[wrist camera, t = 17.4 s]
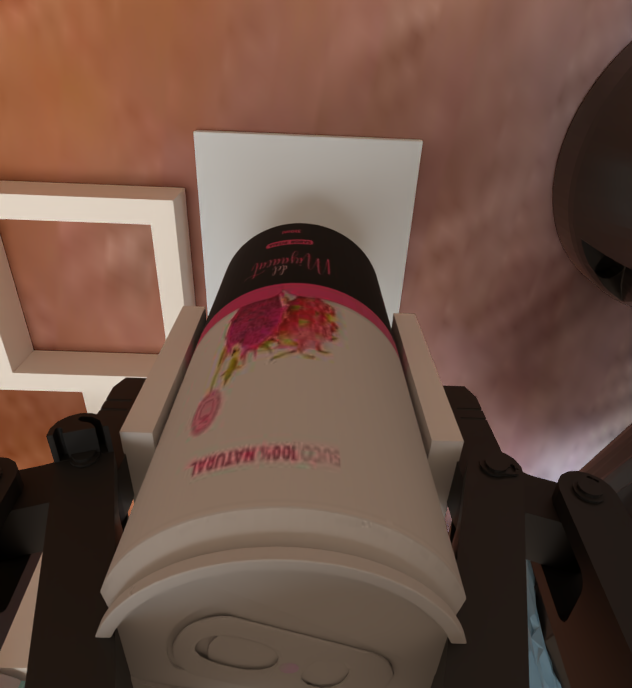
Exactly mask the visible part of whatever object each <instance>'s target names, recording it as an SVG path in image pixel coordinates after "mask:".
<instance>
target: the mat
mask: <svg viewBox="0 0 632 688" xmlns="http://www.w3.org/2000/svg"><path fill="white" fill-rule="evenodd" d="M193 133H194V145H195V158H196V171H197V183H198V196H199V208H200V221H201V234H202V246H203V259H204V271H205V284H206V297H207V309H208V316H209V313H210V310H211V308H212V305H213V303H214V300H215V298H216V295H217V293H218V290H219V288H220V285H221V283H222V280H223V277H224V275H225V272H226V270H227V268H228V265H229V263H230V262H231V260H232V258H233V257H234V255H235V254H236V253H237V251H238V250H239V249H240V248H241V247H242V246H243V245H244V244H245V243H246V242H247V241H248V240H250V239H251V238H253V237H254V236H256V235H257V234H259V233H261V232H263V231H265V230H267V229H270V228H273V227H276V226H280V225H284V224H291V223H308V224H315V225H320V226H324V227H327V228H330V229H332V230H335V231H337V232H339V233H341V234H343V235H344V236H346V237H347V238H349V239H350V240H352V241H353V242H354V243H355V244H356V245H357V246H358V247H359V248H360V249H361V250H362V251H363V252H364V253H365V255H366V256H367V257H368V259H369V260H370V262H371V264H372V266H373V268H374V270H375V273H376V275H377V279H378V283H379V286H380V290H381V293H382V297H383V301H384V304H385V308H386V311H387V315H388V319H389V322H390V326H391V328H392V321H393V313H399V308H400V301H401V294H402V287H403V280H404V272H405V265H406V258H407V251H408V244H409V237H410V230H411V223H412V215H413V208H414V201H415V194H416V187H417V180H418V173H419V165H420V158H421V151H422V144H423V141H422V140H421V139H397V138H374V137H351V136H327V135H304V134H280V133H257V132H234V131H210V130H195V131H194V132H193Z"/></svg>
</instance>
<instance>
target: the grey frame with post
mask: <svg viewBox="0 0 632 688" xmlns="http://www.w3.org/2000/svg"><path fill="white" fill-rule="evenodd" d="M0 219H20V220H46V221H72V222H98V223H124V224H150V225H151V230H152V238H153V246H154V253H155V261H156V268H157V276H158V284H159V291H160V299H161V306H162V314H163V322H164V329H165V337H166V339H167V337H168V335H169V333H170V331H171V329H172V327H173V325H174V323H175V321H176V319H177V317H178V315H179V313H180V311H181V309H182V307H183V306H196V303H195V292H194V281H193V270H192V259H191V248H190V238H189V227H188V216H187V205H186V194H185V188H176V187H151V186H126V185H101V184H76V183H51V182H26V181H1V180H0ZM158 355H159V354H135V353H104V352H74V351H43V350H34V349H33V346H32V342H31V339H30V335H29V332H28V328H27V325H26V322H25V318H24V315H23V311H22V308H21V304H20V301H19V298H18V294H17V291H16V287H15V284H14V280H13V277H12V274H11V270H10V267H9V263H8V260H7V256H6V253H5V250H4V246H3V243H2V239H1V236H0V389H1V390H34V391H67V392H82V393H83V397H84V401H85V405H86V409H87V413H93V414H97V413H98V412H99V410H101V407H102V405H103V403H104V402H105V401H106V398H107V397H108V395H109V393H110V391H111V390H112V388H113V387H114V386H115V385H117V384H118V383H119V382H120V381H122V380H123V379H124V378H126V377H131V378H147V376H148V374H149V372H150V370H151V368H152V366H153V364H154V362H155V360H156V358H157V356H158ZM42 553H43V552H42ZM41 561H42V555H41V557H40V559H39V562H38V564H37V566H36V569H35V571H34V573H33V576H32V578H31V580H30V583H29V585H28V587H27V590H26V592H25V594H24V597H23V599H22V601H21V604H20V606H19V609H18V611H17V613H16V616H15V618H14V620H13V623H12V625H11V627H10V630H9V632H8V634H7V637H6V639H5V641H4V644H3V646H2V648H1V651H0V674H4V675H8V676H11V677H14V678H17V679H19V680H21V681H25V680H26V673H27V665H28V658H29V650H30V643H31V635H32V628H33V620H34V613H35V605H36V598H37V591H38V583H39V576H40V568H41Z"/></svg>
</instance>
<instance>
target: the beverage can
mask: <svg viewBox="0 0 632 688" xmlns="http://www.w3.org/2000/svg"><path fill="white" fill-rule="evenodd" d="M101 594H102V596H103V598H104V600H105V602H106V604H107V606H108V610H107V611H106V613H105V614H104V616H103V618H102V620H101V622H100V625H99V627H98V630H97V633H96V636H95V637H99V638H110V637H111V636H112V635H113V633H114V631H115V629H116V628H117V629H118V633H119V636H120V639H121V643H122V646H123V650H124V653H125V657H126V660H127V664H128V667H129V671H130V674H131V681H132V685H133V688H431V685H432V682H433V679H434V675H435V674H436V671H437V668H438V665H439V662H440V659H441V656H442V652H443V649H444V646H445V643H446V640H447V637H448V638H449V640H450V642H451V643H456V644H466V643H467V642H466V638H465V634H464V631H463V628H462V626H461V624H460V622H459V620H458V618H457V617H456V614H457V613H458V611H459V610H460V608H461V606H462V605H463V603H464V602H465V600H466V595H465V592H464V588H463V585H462V581H461V577H460V574H459V570H458V567H457V563H456V559H455V556H454V552H453V549H452V545H451V541H450V538H449V534H448V531H447V527H446V524H445V520H444V516H443V513H442V509H441V506H440V502H439V498H438V495H437V491H436V488H435V484H434V480H433V477H432V473H431V470H430V466H429V462H428V459H427V455H426V452H425V448H424V444H423V441H422V437H421V434H420V430H419V426H418V423H417V419H416V416H415V412H414V408H413V405H412V401H411V398H410V394H409V390H408V387H407V383H406V380H405V376H404V372H403V369H402V365H401V362H400V358H399V354H398V351H397V347H396V344H395V340H394V336H393V333H392V329H391V326H390V322H389V319H388V315H387V311H386V308H385V304H384V301H383V297H382V293H381V290H380V286H379V283H378V279H377V275H376V273H375V270H374V268H373V266H372V264H371V262H370V260H369V259H368V257H367V256H366V255H365V253H364V252H363V251H362V250H361V249H360V248H359V247H358V246H357V245H356V244H355V243H354V242H353V241H352V240H350V239H349V238H347V237H346V236H344V235H343V234H341V233H339V232H337V231H335V230H332V229H330V228H327V227H324V226H320V225H315V224H308V223H291V224H284V225H280V226H276V227H273V228H270V229H267V230H265V231H263V232H261V233H259V234H257V235H256V236H254V237H253V238H251V239H250V240H248V241H247V242H246V243H245V244H244V245H243V246H242V247H241V248H240V249H239V250H238V251H237V253H236V254H235V255H234V257H233V258H232V260H231V262H230V263H229V265H228V268H227V270H226V272H225V275H224V277H223V280H222V283H221V285H220V288H219V290H218V293H217V295H216V298H215V300H214V303H213V305H212V308H211V310H210V313H209V316H208V318H207V321H206V323H205V326H204V328H203V331H202V333H201V336H200V338H199V341H198V344H197V346H196V349H195V351H194V354H193V356H192V359H191V361H190V364H189V366H188V369H187V371H186V374H185V377H184V379H183V382H182V384H181V387H180V389H179V392H178V394H177V397H176V399H175V402H174V405H173V407H172V410H171V412H170V415H169V417H168V420H167V422H166V425H165V427H164V430H163V432H162V435H161V438H160V440H159V443H158V445H157V448H156V450H155V453H154V455H153V458H152V460H151V463H150V466H149V468H148V471H147V473H146V476H145V478H144V481H143V483H142V486H141V488H140V491H139V493H138V496H137V499H136V501H135V504H134V506H133V509H132V511H131V514H130V516H129V519H128V521H127V524H126V526H125V529H124V532H123V534H122V537H121V539H120V542H119V544H118V547H117V549H116V552H115V554H114V557H113V560H112V562H111V565H110V567H109V570H108V572H107V575H106V577H105V580H104V582H103V585H102V588H101Z"/></svg>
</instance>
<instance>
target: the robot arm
mask: <svg viewBox="0 0 632 688" xmlns="http://www.w3.org/2000/svg"><path fill="white" fill-rule="evenodd" d="M553 211H554V219H555V224H556V229H557V232H558V235H559V238H560V241H561V243H562V246H563V248H564V250H565V252H566V253H567V255H568V257H569V258H570V260H571V261H572V263H573V264H574V265H575V266H576V267H577V269H578V270H579V271H580V272H581V273H582V274H583V275H584V276H586V277H587V278H588V279H589V280H590V281H592V282H593V283H594V284H595V285H596V286H598V287H599V288H600V289H601V290H602V291H604V292H605V293H606V294H608V295H609V296H611V297H612V298H614V299H616V300H617V301H619V302H621V303H623V304H625V305H627V306H630V307H632V43H630V44H629V45H628V46H627V47H626V48H625V49H624V50H623V51H622V52H621V53H620V54H619V55H618V56H617V57H616V59H615V60H614V61H613V62H612V63H611V64H610V65H609V67H608V68H607V69H606V70H605V71H604V72H603V74H602V75H601V76H600V78H599V79H598V80H597V82H596V83H595V84H594V86H593V87H592V89H591V90H590V92H589V93H588V95H587V96H586V98H585V99H584V101H583V103H582V104H581V106H580V108H579V110H578V111H577V113H576V115H575V117H574V119H573V121H572V123H571V126H570V128H569V130H568V132H567V135H566V137H565V140H564V143H563V145H562V148H561V152H560V155H559V159H558V163H557V167H556V172H555V178H554V187H553ZM205 323H206V312H205V307H200V306H183V307H182V309H181V311H180V313H179V315H178V317H177V319H176V321H175V323H174V325H173V327H172V329H171V331H170V333H169V335H168V337H167V339H166V341H165V343H164V345H163V347H162V349H161V351H160V353H159V355H158V356H157V358H156V360H155V362H154V364H153V366H152V368H151V370H150V372H149V374H148V376H147V378H131V377H126V378H124V379H123V380H122V381H120V382H119V383H118V384H117V385H115V386H114V387H113V388H112V390H111V391H110V393H109V395H108V397H107V398H106V401H105V402H104V403H103V405H102V407H101V410H99V412H98V413H97V414H93V413H79V414H76V415H72V416H68V417H66V418H64V419H62V420H60V421H58V422H57V423H56V424H55V425H54V426H52V427H51V428H50V430H49V432H48V434H47V440H48V443H49V446H50V449H51V453H52V456H53V459H54V462H53V463H50V464H47V465H43V466H38V467H33V468H28V469H23V470H18V468H17V465H16V463H15V462H14V461H12V460H11V459H9V458H2V457H0V651H1V648H2V646H3V644H4V641H5V639H6V637H7V634H8V632H9V630H10V627H11V625H12V623H13V620H14V618H15V616H16V613H17V611H18V609H19V606H20V604H21V601H22V599H23V597H24V594H25V592H26V590H27V587H28V585H29V583H30V580H31V578H32V576H33V573H34V571H35V569H36V566H37V564H38V562H39V559H40V557H41V555H42V561H41V568H40V576H39V583H38V591H37V598H36V605H35V613H34V620H33V628H32V635H31V643H30V650H29V658H28V665H27V673H26V680H25V687H24V688H133V685H132V681H131V674H130V671H129V667H128V664H127V660H126V657H125V653H124V650H123V646H122V643H121V639H120V636H119V633H118V629H117V628H116V629H115V631H114V633H113V635H112V636H111V637H110V638H99V637H95V636H96V633H97V630H98V627H99V625H100V622H101V620H102V618H103V616H104V614H105V613H106V611H107V610H108V606H107V604H106V602H105V600H104V598H103V596H102V594H101V588H102V585H103V582H104V580H105V577H106V575H107V572H108V570H109V567H110V565H111V562H112V560H113V557H114V554H115V552H116V549H117V547H118V544H119V542H120V539H121V537H122V534H123V532H124V529H125V526H126V524H127V521H128V519H129V517H128V510H129V508H130V505H131V503H132V500H133V499H134V504H135V501H136V499H137V496H138V493H139V491H140V488H141V486H142V483H143V481H144V478H145V476H146V473H147V471H148V468H149V466H150V463H151V460H152V458H153V455H154V453H155V450H156V448H157V445H158V443H159V440H160V438H161V435H162V432H163V430H164V427H165V425H166V422H167V420H168V417H169V415H170V412H171V410H172V407H173V405H174V402H175V399H176V397H177V394H178V392H179V389H180V387H181V384H182V382H183V379H184V377H185V374H186V371H187V369H188V366H189V364H190V361H191V359H192V356H193V354H194V351H195V349H196V346H197V344H198V341H199V338H200V336H201V333H202V331H203V328H204V326H205ZM391 329H392V333H393V336H394V340H395V344H396V347H397V351H398V354H399V358H400V362H401V365H402V369H403V372H404V376H405V380H406V383H407V387H408V390H409V394H410V398H411V401H412V405H413V408H414V412H415V416H416V419H417V423H418V426H419V430H420V434H421V437H422V441H423V444H424V448H425V452H426V455H427V459H428V462H429V466H430V470H431V473H432V477H433V480H434V484H435V488H436V491H437V495H438V498H439V502H440V506H441V509H442V513H443V516H444V518H445V515H446V511H447V507H449V511H450V514H451V518H452V522H451V526H450V530H449V533H448V534H449V538H450V541H451V545H452V549H453V552H454V556H455V559H456V563H457V567H458V570H459V574H460V577H461V581H462V585H463V588H464V592H465V595H466V600H465V602H464V603H463V605H462V606H461V608H460V610H459V611H458V613H457V614H456V617H457V618H458V620H459V622H460V624H461V626H462V628H463V631H464V634H465V638H466V642H467V643H466V644H456V643H451V642H450V640H449V638H448V637H447V640H446V643H445V646H444V649H443V652H442V656H441V659H440V662H439V665H438V668H437V671H436V674H435V675H434V679H433V682H432V685H431V688H632V424H630V425H629V426H628V427H627V428H626V429H625V430H624V431H623V432H622V433H620V434H619V435H618V436H617V437H616V438H615V439H614V440H613V441H612V442H610V443H609V444H608V445H607V446H606V447H605V448H604V449H603V450H602V451H600V452H599V453H598V454H597V455H596V456H595V457H594V458H593V459H592V460H591V461H589V462H588V463H587V464H586V465H585V466H584V467H583V468H582V469H581V470H579V471H569V472H566V473H564V474H562V475H561V476H560V478H559V480H558V482H557V483H556V482H553V481H549V480H545V479H541V478H537V477H534V476H531V475H528V474H526V473H524V472H523V471H522V468H521V466H520V465H519V464H518V463H517V462H516V460H514V459H513V458H511V457H510V456H508V455H507V454H505V453H502V452H501V450H500V447H499V445H498V443H497V441H496V439H495V437H494V434H493V432H492V430H491V428H490V426H489V424H488V422H487V420H486V417H485V415H484V413H483V411H481V407H480V404H479V402H478V400H477V398H476V396H474V395H473V394H472V393H471V392H470V391H469V390H468V389H467V388H466V387H464V386H443V385H442V383H441V380H440V378H439V375H438V372H437V370H436V367H435V365H434V362H433V359H432V357H431V354H430V351H429V349H428V346H427V344H426V341H425V338H424V336H423V333H422V331H421V328H420V325H419V323H418V320H417V317H416V315H415V314H406V313H393V321H392V328H391ZM42 552H43V553H42Z"/></svg>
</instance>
